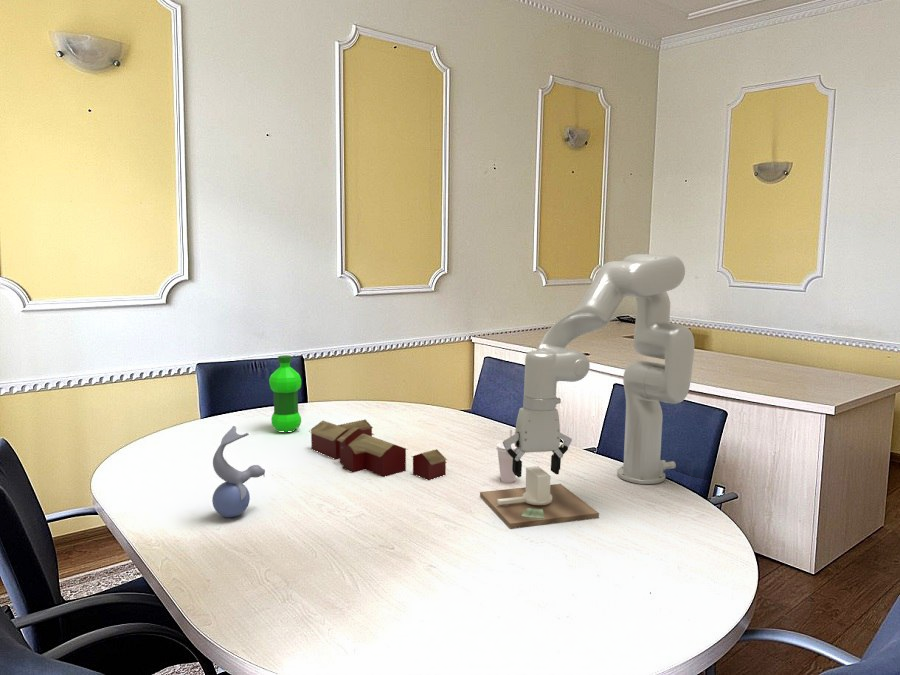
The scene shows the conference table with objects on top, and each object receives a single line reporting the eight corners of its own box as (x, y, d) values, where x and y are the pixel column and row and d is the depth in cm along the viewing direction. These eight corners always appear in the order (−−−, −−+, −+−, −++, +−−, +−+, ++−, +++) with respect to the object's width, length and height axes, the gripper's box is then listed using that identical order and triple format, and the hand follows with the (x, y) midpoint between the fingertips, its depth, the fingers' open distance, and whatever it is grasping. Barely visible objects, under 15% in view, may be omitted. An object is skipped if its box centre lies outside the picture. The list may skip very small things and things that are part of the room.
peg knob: (544, 493, 170) (545, 465, 169) (557, 503, 164) (558, 474, 163) (493, 498, 167) (493, 470, 166) (503, 509, 160) (504, 480, 159)
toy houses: (303, 452, 208) (302, 419, 207) (359, 439, 222) (359, 408, 221) (397, 492, 176) (397, 454, 174) (456, 474, 189) (456, 438, 188)
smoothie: (518, 485, 181) (519, 433, 179) (494, 483, 182) (495, 431, 180) (521, 477, 187) (522, 426, 185) (497, 475, 188) (498, 425, 186)
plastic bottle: (299, 435, 224) (297, 359, 221) (266, 435, 225) (264, 359, 221) (305, 427, 234) (304, 354, 231) (274, 426, 235) (272, 353, 231)
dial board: (560, 488, 179) (560, 482, 179) (598, 517, 160) (599, 512, 160) (479, 496, 173) (480, 491, 172) (510, 528, 154) (510, 522, 154)
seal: (273, 512, 161) (271, 429, 159) (221, 526, 154) (217, 438, 151) (258, 501, 168) (255, 421, 165) (207, 514, 160) (203, 430, 157)
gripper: (565, 398, 169) (562, 466, 171) (499, 401, 164) (496, 471, 166) (580, 405, 162) (576, 476, 164) (511, 408, 157) (508, 481, 159)
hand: (536, 474), depth 165 cm, fingers open, 9 cm apart
